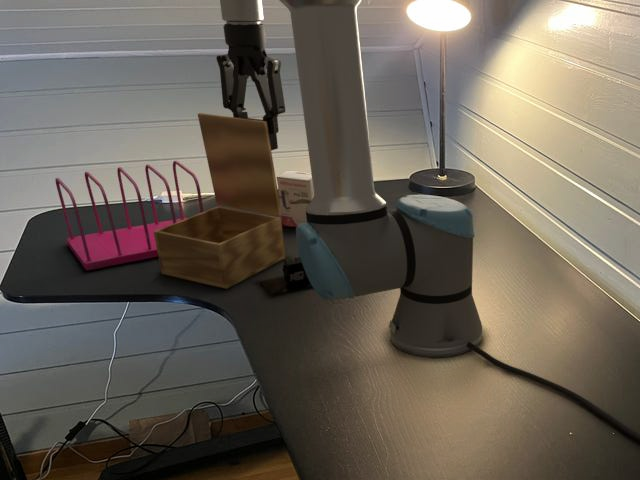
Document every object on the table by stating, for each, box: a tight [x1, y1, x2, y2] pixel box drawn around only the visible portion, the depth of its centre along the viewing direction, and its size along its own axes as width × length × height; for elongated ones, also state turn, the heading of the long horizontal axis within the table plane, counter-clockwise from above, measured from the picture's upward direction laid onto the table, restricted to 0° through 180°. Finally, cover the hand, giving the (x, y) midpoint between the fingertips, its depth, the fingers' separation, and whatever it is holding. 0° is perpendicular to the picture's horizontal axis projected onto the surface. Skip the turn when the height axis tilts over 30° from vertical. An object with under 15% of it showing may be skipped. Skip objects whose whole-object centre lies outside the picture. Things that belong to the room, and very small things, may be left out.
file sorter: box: [54, 160, 205, 271], centre depth 151 cm, size 17×25×16 cm
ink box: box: [276, 170, 314, 228], centre depth 166 cm, size 9×5×12 cm, turn 73°
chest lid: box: [197, 112, 282, 217], centre depth 146 cm, size 18×16×7 cm
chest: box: [153, 205, 286, 290], centre depth 145 cm, size 18×16×9 cm
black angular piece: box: [260, 256, 314, 297], centre depth 139 cm, size 12×7×5 cm, turn 123°
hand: (258, 147), depth 148 cm, fingers closed on chest lid, 6 cm apart
